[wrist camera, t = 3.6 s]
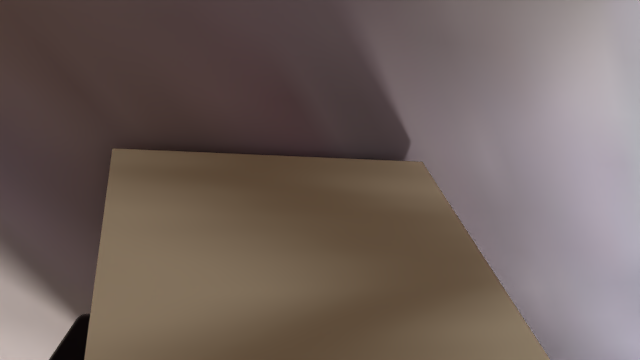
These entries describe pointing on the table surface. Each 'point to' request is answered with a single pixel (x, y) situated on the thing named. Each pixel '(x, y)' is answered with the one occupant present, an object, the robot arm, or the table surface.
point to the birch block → (291, 264)
